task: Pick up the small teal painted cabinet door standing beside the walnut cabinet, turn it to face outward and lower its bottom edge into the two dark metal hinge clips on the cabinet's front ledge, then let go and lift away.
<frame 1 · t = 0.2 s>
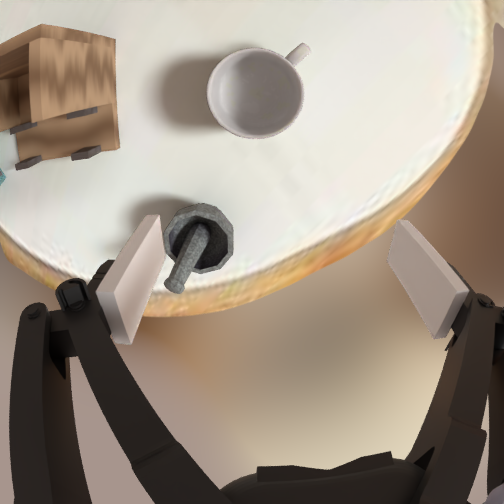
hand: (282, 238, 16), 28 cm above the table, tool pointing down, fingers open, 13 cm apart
cabinet: (61, 101, 35), on the table
mortar and pestle: (202, 224, 47), on the table
teacup: (264, 86, 36), on the table
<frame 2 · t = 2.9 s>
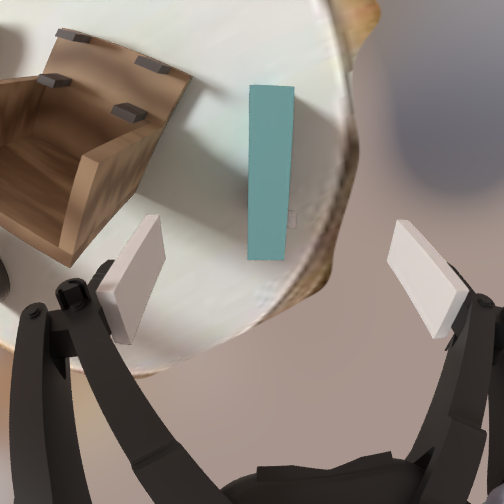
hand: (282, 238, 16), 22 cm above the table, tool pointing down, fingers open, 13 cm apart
cabinet: (94, 110, 32), on the table
door: (263, 150, 35), on the table
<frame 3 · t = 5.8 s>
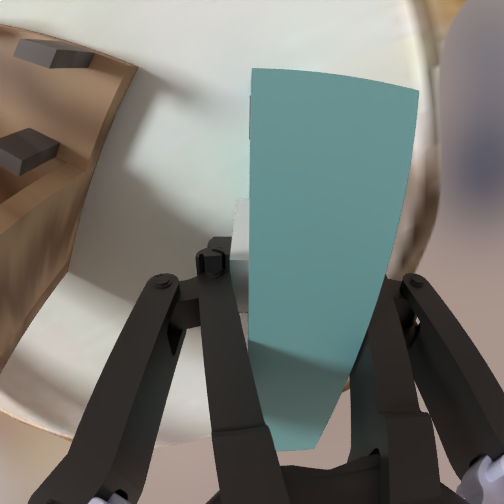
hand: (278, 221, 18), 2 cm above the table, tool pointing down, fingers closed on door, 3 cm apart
door: (276, 209, 19), on the table, touching gripper
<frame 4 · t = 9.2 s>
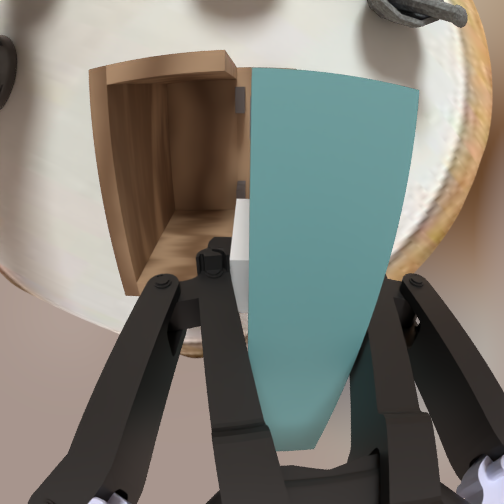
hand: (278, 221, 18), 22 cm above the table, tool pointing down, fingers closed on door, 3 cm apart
cabinet: (222, 144, 37), on the table
mortar and pestle: (390, 4, 26), on the table
door: (276, 209, 19), point 21 cm above the table, touching gripper
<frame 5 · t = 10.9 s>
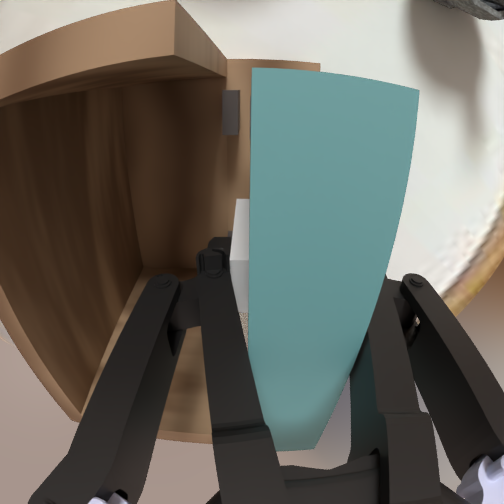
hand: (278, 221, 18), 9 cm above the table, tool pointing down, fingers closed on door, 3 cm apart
cabinet: (205, 176, 25), on the table
door: (276, 209, 19), point 7 cm above the table, touching gripper
when the fingers open (4 cm above the table, at t = 12.6 s): door stays where it is, resting on cabinet.
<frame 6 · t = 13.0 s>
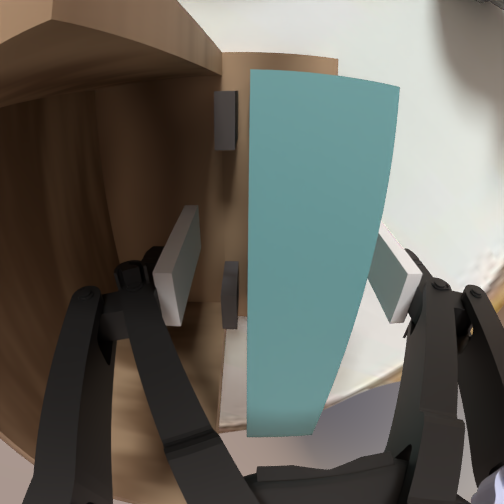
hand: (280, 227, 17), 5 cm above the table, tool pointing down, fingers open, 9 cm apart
cabinet: (197, 196, 21), on the table
door: (275, 204, 20), point 1 cm above the table, touching cabinet
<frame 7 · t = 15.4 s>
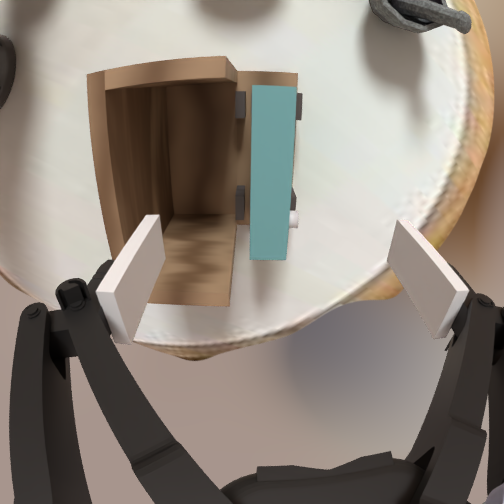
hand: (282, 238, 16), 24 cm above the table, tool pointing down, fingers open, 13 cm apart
cabinet: (221, 148, 37), on the table
mortar and pestle: (393, 9, 26), on the table
door: (265, 151, 35), point 1 cm above the table, touching cabinet
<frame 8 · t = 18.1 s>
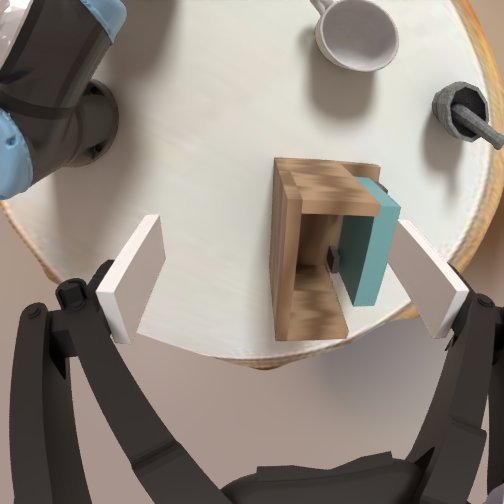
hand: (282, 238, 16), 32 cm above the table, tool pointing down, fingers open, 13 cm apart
cabinet: (319, 217, 50), on the table
mortar and pestle: (447, 109, 39), on the table
teacup: (338, 32, 34), on the table
door: (352, 222, 49), point 1 cm above the table, touching cabinet
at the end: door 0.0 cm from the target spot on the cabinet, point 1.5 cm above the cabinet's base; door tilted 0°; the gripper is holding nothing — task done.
